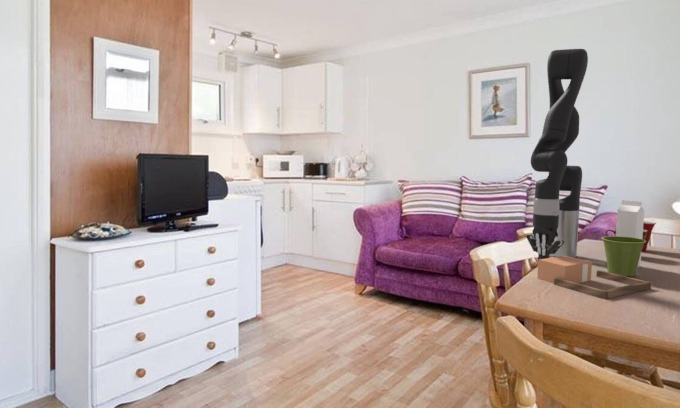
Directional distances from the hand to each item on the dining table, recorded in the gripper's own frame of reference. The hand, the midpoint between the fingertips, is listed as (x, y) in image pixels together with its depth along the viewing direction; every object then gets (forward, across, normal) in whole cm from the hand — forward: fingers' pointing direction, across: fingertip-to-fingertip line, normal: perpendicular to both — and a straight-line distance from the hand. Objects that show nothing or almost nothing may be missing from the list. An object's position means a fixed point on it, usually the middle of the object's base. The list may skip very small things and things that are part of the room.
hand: (543, 266), depth 146 cm
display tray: (+2, +19, 0) cm, 19 cm away
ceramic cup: (+2, -2, +46) cm, 46 cm away
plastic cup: (+2, -6, +61) cm, 61 cm away
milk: (+2, +8, +31) cm, 32 cm away
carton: (+2, +10, -3) cm, 10 cm away
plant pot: (+2, +14, +18) cm, 23 cm away
